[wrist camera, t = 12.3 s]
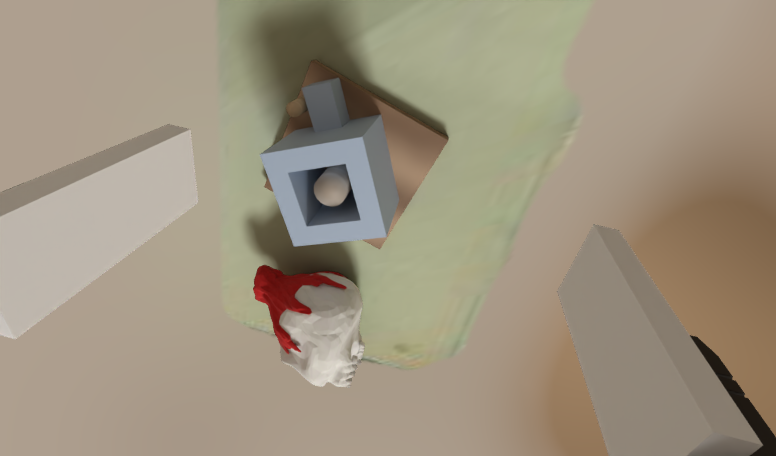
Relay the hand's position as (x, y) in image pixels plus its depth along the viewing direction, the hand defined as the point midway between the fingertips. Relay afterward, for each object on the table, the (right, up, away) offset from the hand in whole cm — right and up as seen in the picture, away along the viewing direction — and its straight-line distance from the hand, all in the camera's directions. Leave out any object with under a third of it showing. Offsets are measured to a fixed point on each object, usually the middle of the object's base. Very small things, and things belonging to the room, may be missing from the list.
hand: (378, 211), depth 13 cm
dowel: (-6, +11, +21) cm, 25 cm away
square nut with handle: (-4, +7, +22) cm, 23 cm away
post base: (-3, +6, +23) cm, 24 cm away
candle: (-7, -8, +32) cm, 33 cm away
